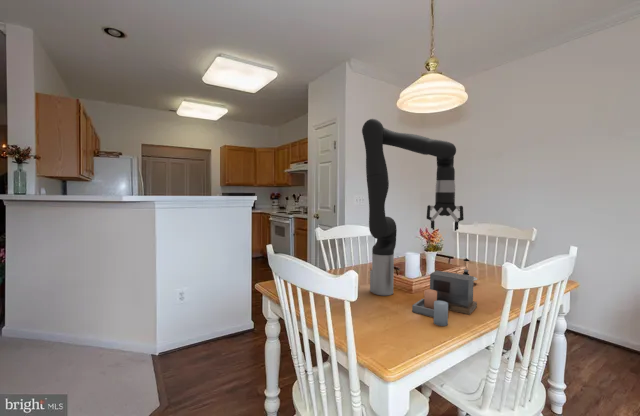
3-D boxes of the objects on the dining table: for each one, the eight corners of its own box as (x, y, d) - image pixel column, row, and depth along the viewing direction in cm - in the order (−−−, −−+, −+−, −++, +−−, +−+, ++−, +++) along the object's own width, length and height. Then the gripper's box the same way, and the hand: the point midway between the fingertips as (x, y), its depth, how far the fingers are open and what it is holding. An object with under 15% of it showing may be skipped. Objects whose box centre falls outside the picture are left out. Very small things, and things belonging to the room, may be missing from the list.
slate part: (431, 323, 103) (432, 303, 103) (436, 319, 106) (436, 299, 106) (445, 327, 100) (445, 306, 100) (449, 322, 103) (449, 302, 103)
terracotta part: (422, 310, 113) (422, 291, 113) (426, 306, 116) (427, 288, 116) (434, 313, 110) (434, 293, 110) (438, 309, 114) (438, 290, 113)
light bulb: (477, 257, 152) (454, 255, 155) (479, 261, 142) (455, 259, 146) (476, 281, 152) (454, 279, 156) (478, 287, 143) (454, 284, 147)
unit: (425, 304, 121) (426, 274, 120) (434, 297, 128) (435, 269, 128) (469, 314, 110) (470, 281, 110) (476, 306, 118) (477, 276, 117)
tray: (412, 311, 113) (412, 305, 113) (422, 304, 120) (422, 298, 120) (438, 318, 107) (438, 311, 107) (447, 310, 114) (447, 304, 114)
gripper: (426, 191, 127) (425, 230, 128) (464, 191, 122) (463, 232, 123) (427, 191, 134) (426, 228, 135) (463, 191, 129) (462, 230, 129)
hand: (444, 230), depth 129 cm, fingers open, 8 cm apart
